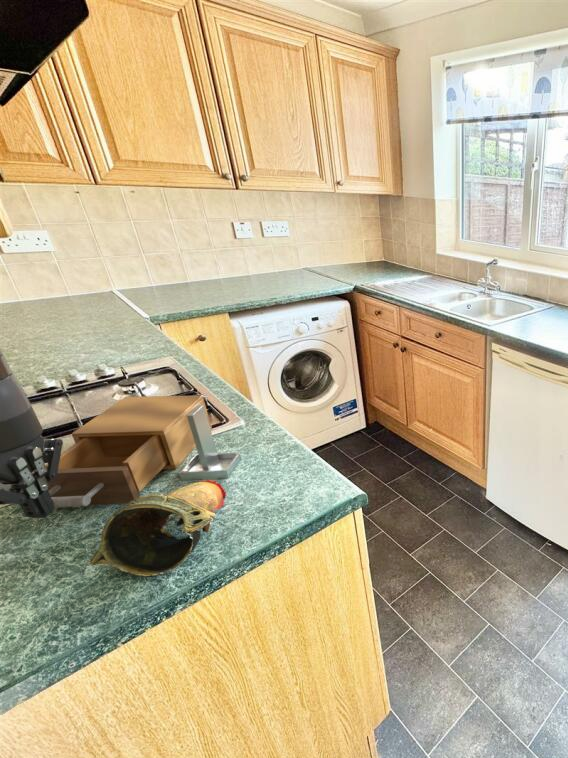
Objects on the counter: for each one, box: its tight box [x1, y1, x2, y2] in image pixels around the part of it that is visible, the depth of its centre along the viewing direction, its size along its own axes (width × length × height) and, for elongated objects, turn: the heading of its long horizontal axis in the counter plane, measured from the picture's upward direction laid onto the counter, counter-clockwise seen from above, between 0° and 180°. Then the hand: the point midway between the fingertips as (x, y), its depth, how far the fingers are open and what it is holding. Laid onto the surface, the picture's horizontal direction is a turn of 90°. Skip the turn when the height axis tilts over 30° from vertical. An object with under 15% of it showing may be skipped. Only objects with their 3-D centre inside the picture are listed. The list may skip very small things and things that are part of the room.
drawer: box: [45, 435, 169, 509], centre depth 72 cm, size 18×13×7 cm
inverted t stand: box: [178, 405, 242, 481], centre depth 78 cm, size 8×6×13 cm
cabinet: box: [71, 394, 213, 470], centre depth 84 cm, size 15×15×9 cm
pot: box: [88, 479, 227, 577], centre depth 64 cm, size 17×11×18 cm
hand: (42, 514), depth 61 cm, fingers closed
